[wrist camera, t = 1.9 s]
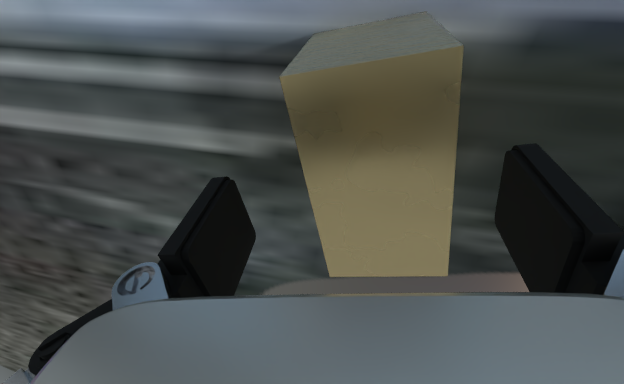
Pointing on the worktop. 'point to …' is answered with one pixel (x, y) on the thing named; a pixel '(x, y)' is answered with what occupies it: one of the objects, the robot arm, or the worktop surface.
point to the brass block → (379, 143)
